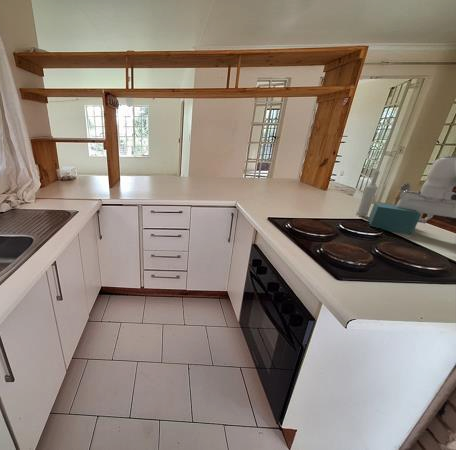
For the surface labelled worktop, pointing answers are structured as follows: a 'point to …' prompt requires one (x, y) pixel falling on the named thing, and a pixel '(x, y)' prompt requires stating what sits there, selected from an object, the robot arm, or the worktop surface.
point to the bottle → (368, 196)
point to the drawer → (415, 223)
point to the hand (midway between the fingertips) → (421, 222)
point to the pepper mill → (402, 188)
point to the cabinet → (392, 217)
